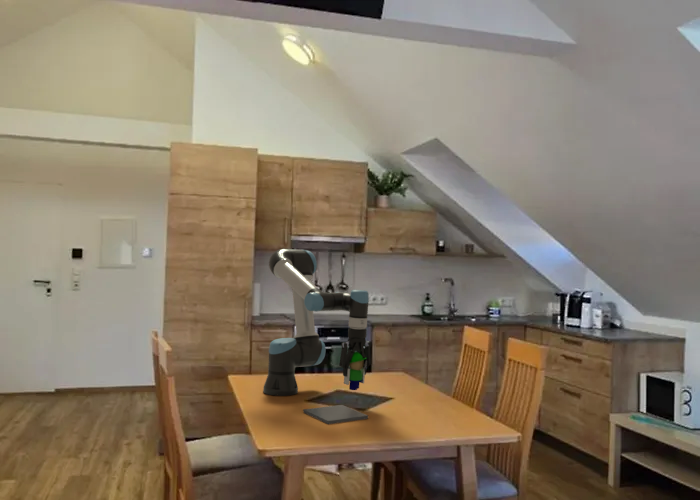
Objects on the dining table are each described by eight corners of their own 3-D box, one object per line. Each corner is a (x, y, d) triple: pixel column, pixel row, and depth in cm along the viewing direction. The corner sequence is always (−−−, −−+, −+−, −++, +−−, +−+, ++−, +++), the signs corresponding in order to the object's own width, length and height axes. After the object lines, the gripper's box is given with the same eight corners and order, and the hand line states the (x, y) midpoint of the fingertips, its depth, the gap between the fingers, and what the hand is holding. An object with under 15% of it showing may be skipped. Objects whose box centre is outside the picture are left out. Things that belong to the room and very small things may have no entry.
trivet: (303, 412, 235) (303, 409, 235) (341, 407, 245) (342, 404, 245) (328, 424, 220) (328, 421, 220) (368, 418, 230) (368, 415, 230)
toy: (362, 392, 244) (364, 355, 244) (341, 389, 246) (343, 352, 246) (366, 387, 253) (368, 351, 253) (345, 384, 254) (348, 349, 254)
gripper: (342, 329, 240) (338, 387, 240) (382, 328, 251) (378, 383, 252) (332, 327, 246) (328, 383, 247) (371, 325, 258) (368, 379, 258)
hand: (354, 383), depth 249 cm, fingers closed on toy, 7 cm apart
